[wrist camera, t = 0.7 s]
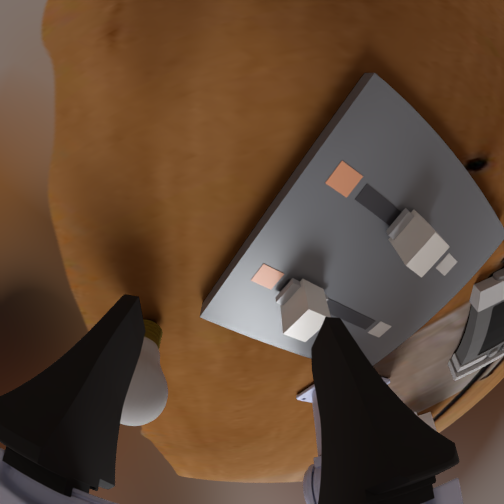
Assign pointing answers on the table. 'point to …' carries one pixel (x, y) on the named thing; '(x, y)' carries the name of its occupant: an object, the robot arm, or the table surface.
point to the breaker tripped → (416, 241)
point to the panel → (360, 229)
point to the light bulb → (146, 382)
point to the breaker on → (302, 309)
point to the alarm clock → (482, 328)
